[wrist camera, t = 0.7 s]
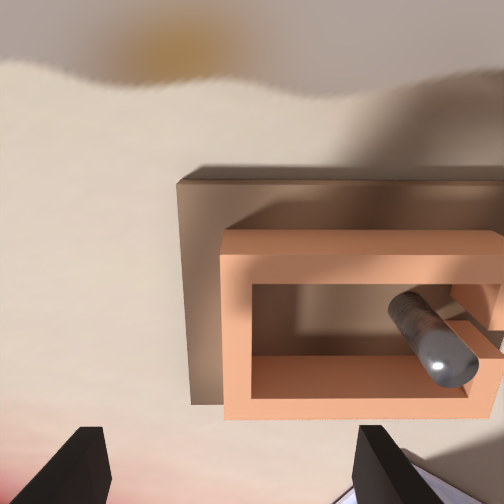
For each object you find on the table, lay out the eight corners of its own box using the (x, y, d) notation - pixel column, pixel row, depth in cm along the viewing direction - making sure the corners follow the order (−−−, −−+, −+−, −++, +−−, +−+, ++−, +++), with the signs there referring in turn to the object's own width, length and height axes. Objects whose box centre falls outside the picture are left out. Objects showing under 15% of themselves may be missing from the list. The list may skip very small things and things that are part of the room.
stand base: (529, 180, 17) (548, 186, 16) (470, 388, 21) (482, 403, 20) (180, 179, 17) (176, 184, 16) (194, 389, 21) (191, 404, 20)
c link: (491, 230, 17) (541, 255, 14) (454, 374, 20) (488, 418, 17) (224, 229, 16) (220, 254, 14) (227, 374, 19) (224, 420, 17)
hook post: (432, 304, 18) (489, 364, 14) (406, 329, 19) (453, 395, 14) (406, 285, 18) (455, 340, 13) (380, 311, 18) (420, 373, 14)
